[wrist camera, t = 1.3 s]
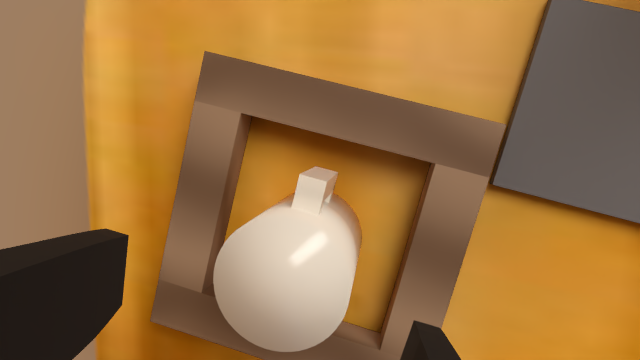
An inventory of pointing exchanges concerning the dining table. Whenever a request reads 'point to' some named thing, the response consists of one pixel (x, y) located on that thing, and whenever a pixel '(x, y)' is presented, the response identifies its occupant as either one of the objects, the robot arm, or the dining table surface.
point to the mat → (579, 112)
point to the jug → (291, 267)
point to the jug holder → (344, 123)
